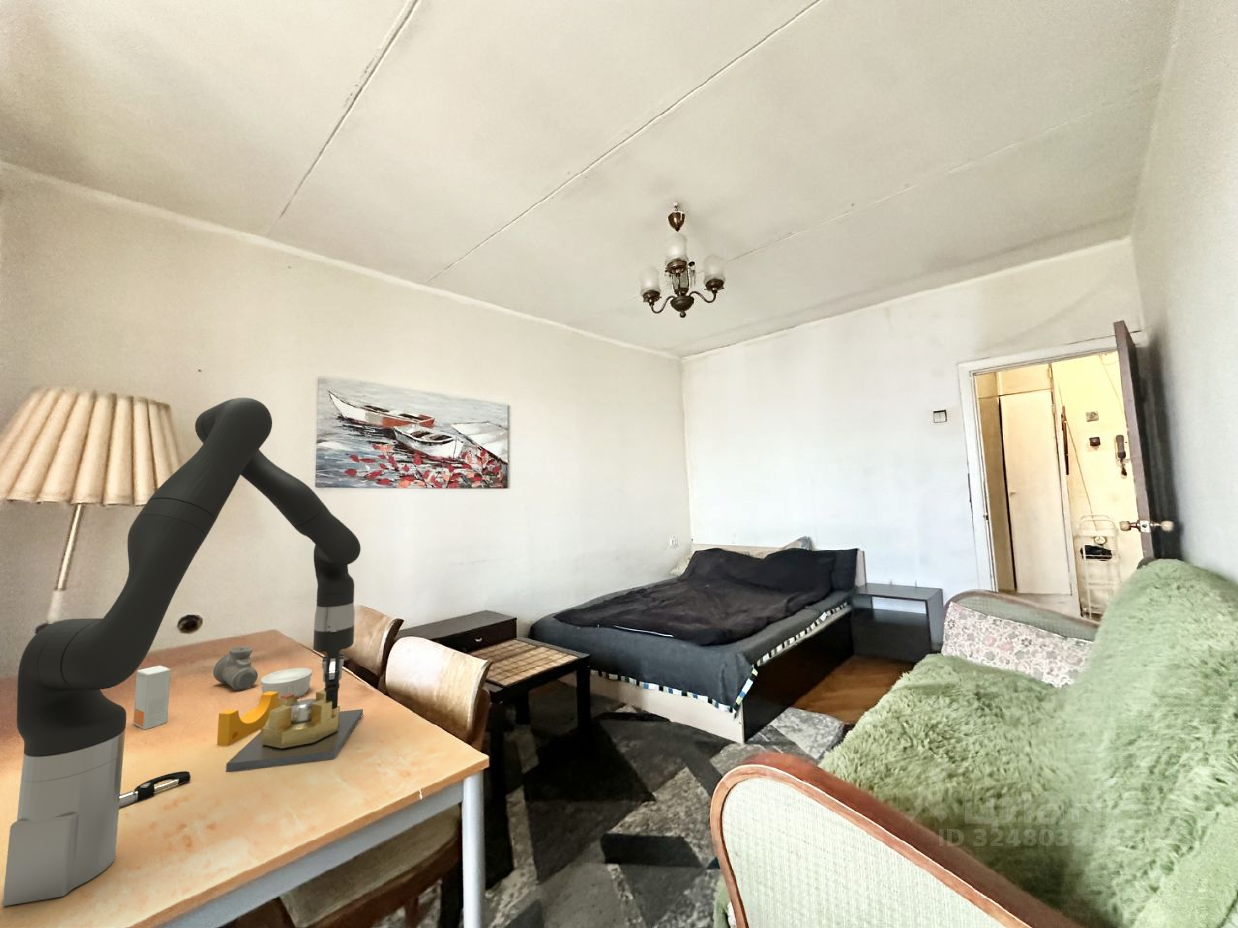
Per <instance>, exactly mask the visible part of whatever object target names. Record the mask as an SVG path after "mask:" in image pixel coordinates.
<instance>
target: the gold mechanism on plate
mask: <svg viewBox="0 0 1238 928" xmlns="http://www.w3.org/2000/svg"><path fill="white" fill-rule="evenodd" d="M317 701H318V700H317V699H316V698H305V699H301V700H297V702H294V703H292V704H291V705H290V707H292V715H291V725H295V724H300V723H306V722H310V721H311V706H312V703H315V702H317ZM362 715H364V709H363V708H361V709H360V708H359V709H352V710H351V709H350V710H342V711H341V710H340V721H339V726H338V730H337V731H335V732H333V733H331V734H329V735H327V736H325V737H323V738H321V739H319V740H317V741H315V742H313V743H308V744H302V745H297V746H291V747H286V748H277V747H273V746H268V745H264V744H262V735H263V728H261V729H260V731H259V732H258V733H257V734H256V735H255V736H254V737H253V738H252V739H251V740H250V741H249V742H247V744H245V746H244V747H242V748H241V750H239V751H238V752H237V753H236V754H235V755H234V756H233V757H232V758H230V760H229V761H228V762H227V763H226V767H225V772H226V773H229V772H237V771H245V770H255V769H262V768H271V767H278V766H287V765H295V764H305V763H313V762H319V761H329V760H334V759H336V757H337V756H338V754H339V753H340V751H341V749H342V748H343V747H342V746H344V745H345V744H346V742H347V740H348V739H349V738H350V736H351V734H352V733H353V731H354V730H355V728H356V727H355V726H357V725H358V724H359V722H360V721H361V719H362V718H361V716H362ZM362 717H363V716H362ZM360 718H361V719H360ZM359 720H360V721H359ZM358 721H359V722H358ZM357 723H358V724H357ZM353 729H354V730H353ZM347 738H348V739H347ZM345 741H346V742H345ZM344 743H345V744H344Z"/></svg>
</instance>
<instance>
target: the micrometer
mask: <svg viewBox="0 0 1238 928" xmlns="http://www.w3.org/2000/svg"><path fill="white" fill-rule="evenodd" d="M170 780H171V781H170ZM165 781H168V782H166V783H162V782H165ZM190 781H191V774H190V771H187V770H186V771H184V770H183V771H177V772H176V771H175V772H171V773H168V774H164V775H159V776H158V777H155V778H152V779H149V780H147V781H145V782H143V783H141V784H139V785H137V786H136V787H135V788H134V789H133V790H130V791H128V792H125V793H122V794H121V793H120V802H119V809H121V808H125V807H127V806H130V805H132V804H134V803H136V802H137V803H138V802H141V801H144V800H147V799H149V798H152V797H154V796H155V794H156V793H157V792H159V791H163V790H165V789H168V788H171V787H174V786H176V785H177V786H178V785H181V784H184V783H186V782H190ZM159 783H162V784H160V785H157V784H159ZM155 785H157V786H155Z"/></svg>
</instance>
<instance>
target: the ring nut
mask: <svg viewBox="0 0 1238 928" xmlns="http://www.w3.org/2000/svg"><path fill="white" fill-rule="evenodd" d="M297 696H298V695H294V694H290V693H287V694H284V695H282V696H280V697H278V698H277V708H276V709H273V710H271V711H270V713H269V718H268V720H267V722H266V724H265V725H264V727H263V735H262V744H264V745H268V746H273V747H277V748H286V747H291V746H297V745H302V744H308V743H313V742H315V741H317V740H319V739H321V738H323V737H325V736H327V735H329V734H331V733H333V732H335V731H337V730H338V726H339V721H340V711H341V706H340V705H337V708H335V709H332V701H329V700H326V692H325V690H324V689H322V690H319V691H316V692H315V699H317V700H318V701H317V702H315V703H312V706H311V721H310V722H306V723H300V724H295V725H291V715H292V707H290V705H291V704H292V703H294V702H297V701H298V698H297Z"/></svg>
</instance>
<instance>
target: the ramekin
mask: <svg viewBox="0 0 1238 928" xmlns="http://www.w3.org/2000/svg"><path fill="white" fill-rule="evenodd" d="M312 675H313V671H312V669H310V668H309V667H308V668H307V667H295V668H287V669H281V670H277V671H274V672H271V673H268V674H266V675H264V676H263V677H261V679H260V685H261V690H262V691H261V692H262V694H264V693H266V692H268V691H271V692H278V697H280V696H282V695H284V694H287V693H290V694H294V695H298V696H297V699H298V698H300V697H302V696H303V695H305V694H306V693H307V692H308V690H309V688H310V687H309V686H310V682H311V678H312Z"/></svg>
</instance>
